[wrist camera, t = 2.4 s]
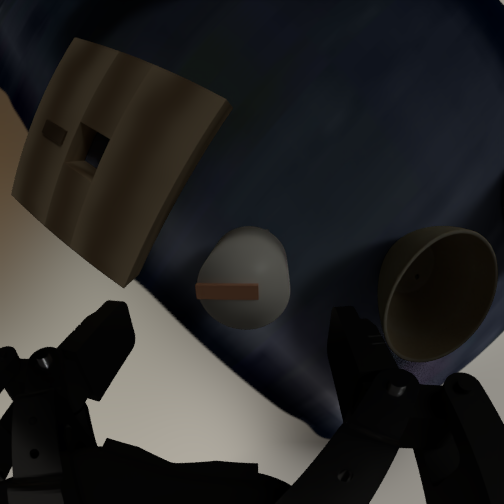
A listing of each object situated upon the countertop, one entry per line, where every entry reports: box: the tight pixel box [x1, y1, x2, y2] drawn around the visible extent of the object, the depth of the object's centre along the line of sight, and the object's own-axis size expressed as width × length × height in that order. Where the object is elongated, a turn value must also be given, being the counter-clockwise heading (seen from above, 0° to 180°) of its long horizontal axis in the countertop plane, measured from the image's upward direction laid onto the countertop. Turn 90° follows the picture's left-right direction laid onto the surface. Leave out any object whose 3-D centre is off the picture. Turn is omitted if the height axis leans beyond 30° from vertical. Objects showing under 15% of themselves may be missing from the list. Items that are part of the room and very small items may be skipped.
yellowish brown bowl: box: [378, 226, 498, 362], centre depth 18 cm, size 10×10×7 cm
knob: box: [195, 226, 290, 330], centre depth 18 cm, size 5×5×8 cm
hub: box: [12, 38, 233, 288], centre depth 18 cm, size 16×16×3 cm
